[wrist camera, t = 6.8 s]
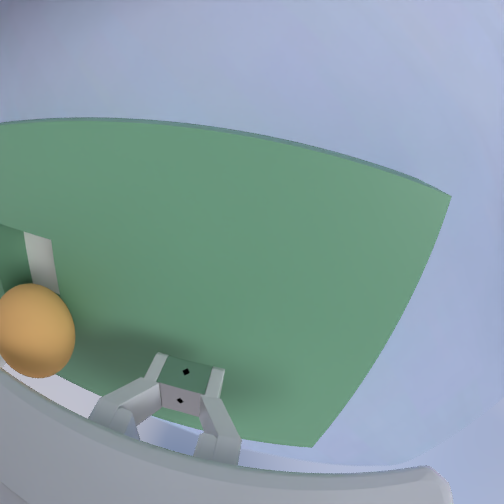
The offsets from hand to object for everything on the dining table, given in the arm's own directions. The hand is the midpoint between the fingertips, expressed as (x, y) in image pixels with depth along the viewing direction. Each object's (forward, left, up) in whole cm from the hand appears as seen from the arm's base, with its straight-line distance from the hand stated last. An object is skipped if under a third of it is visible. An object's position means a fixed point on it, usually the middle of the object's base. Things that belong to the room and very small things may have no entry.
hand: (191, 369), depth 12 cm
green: (0, -5, -5) cm, 7 cm away
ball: (+1, -9, +1) cm, 9 cm away
